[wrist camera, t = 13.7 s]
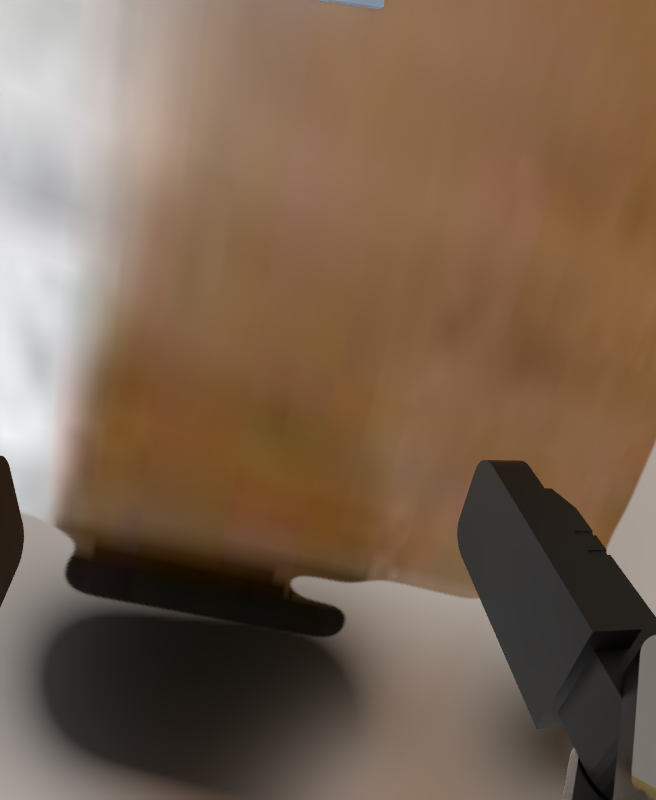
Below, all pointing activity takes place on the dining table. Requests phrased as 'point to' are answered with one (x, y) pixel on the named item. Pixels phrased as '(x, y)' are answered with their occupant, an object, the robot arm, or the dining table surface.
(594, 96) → the dining table surface
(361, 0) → the blue panel box
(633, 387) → the dining table surface
